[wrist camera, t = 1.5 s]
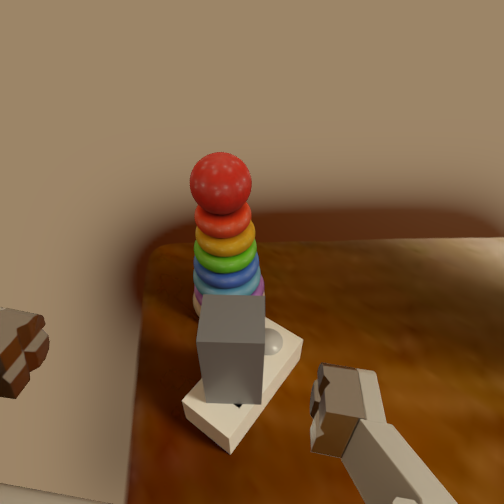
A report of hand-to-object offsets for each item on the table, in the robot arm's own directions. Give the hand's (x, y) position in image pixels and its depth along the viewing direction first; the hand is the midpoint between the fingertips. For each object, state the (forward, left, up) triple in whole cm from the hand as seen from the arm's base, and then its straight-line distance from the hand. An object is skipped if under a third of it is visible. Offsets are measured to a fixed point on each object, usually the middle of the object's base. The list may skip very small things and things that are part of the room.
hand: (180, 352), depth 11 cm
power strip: (-7, -9, -24) cm, 27 cm away
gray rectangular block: (-5, -8, -23) cm, 25 cm away
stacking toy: (-10, -18, -24) cm, 32 cm away
